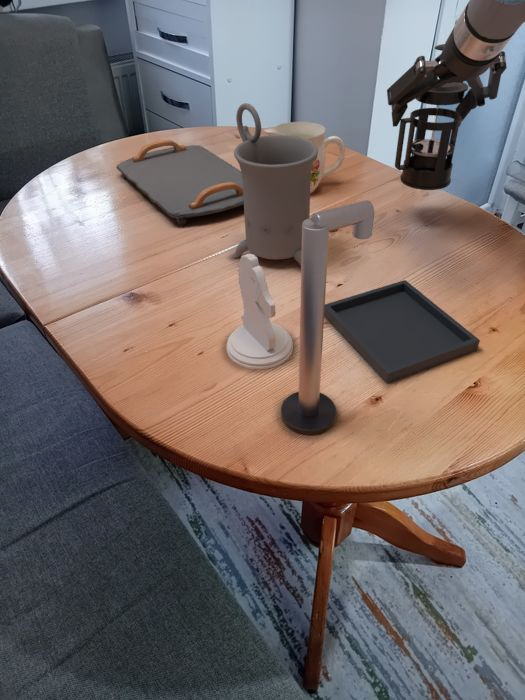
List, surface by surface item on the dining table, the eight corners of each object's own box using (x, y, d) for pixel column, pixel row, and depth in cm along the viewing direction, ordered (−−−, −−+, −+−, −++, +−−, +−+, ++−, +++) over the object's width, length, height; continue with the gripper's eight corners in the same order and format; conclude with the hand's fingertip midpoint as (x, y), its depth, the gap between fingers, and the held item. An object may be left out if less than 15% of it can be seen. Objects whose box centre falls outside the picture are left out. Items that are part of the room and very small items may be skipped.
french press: (439, 168, 108) (463, 37, 93) (463, 186, 101) (493, 48, 86) (384, 175, 106) (400, 42, 91) (404, 194, 99) (425, 53, 84)
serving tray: (276, 205, 115) (276, 177, 111) (179, 235, 106) (174, 206, 102) (196, 152, 141) (193, 127, 137) (111, 172, 132) (106, 147, 128)
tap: (337, 382, 74) (354, 186, 55) (366, 416, 69) (395, 214, 50) (272, 406, 70) (267, 207, 52) (296, 443, 66) (300, 238, 47)
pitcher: (349, 194, 118) (355, 130, 110) (270, 203, 116) (268, 139, 107) (334, 175, 127) (338, 114, 118) (260, 183, 124) (258, 122, 115)
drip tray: (403, 289, 90) (405, 279, 89) (477, 350, 78) (480, 340, 76) (322, 315, 85) (322, 304, 84) (386, 384, 73) (388, 373, 72)
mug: (338, 258, 98) (348, 115, 82) (275, 287, 91) (273, 138, 75) (273, 222, 110) (271, 90, 93) (213, 245, 103) (200, 108, 87)
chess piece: (248, 379, 74) (242, 289, 65) (215, 341, 81) (205, 254, 71) (306, 353, 78) (308, 264, 68) (270, 319, 85) (267, 234, 75)
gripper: (398, 68, 76) (364, 141, 98) (561, 59, 77) (491, 133, 98) (393, 17, 76) (360, 101, 98) (555, 9, 77) (487, 94, 99)
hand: (426, 117), depth 98 cm, fingers closed on french press, 11 cm apart
